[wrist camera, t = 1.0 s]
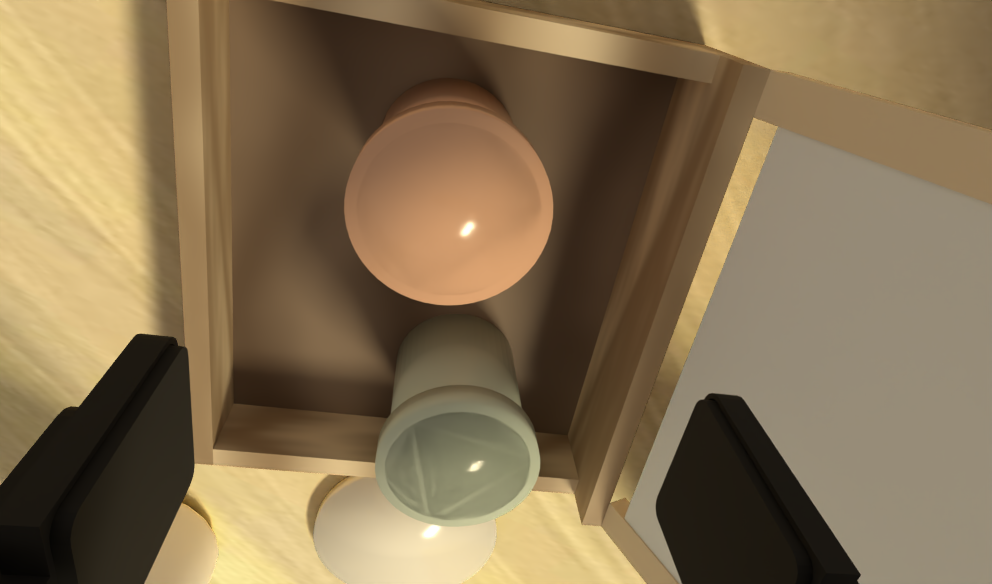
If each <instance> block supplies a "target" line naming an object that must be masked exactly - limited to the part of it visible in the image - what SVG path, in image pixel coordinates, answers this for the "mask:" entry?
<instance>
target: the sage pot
mask: <svg viewBox="0 0 992 584" xmlns="http://www.w3.org/2000/svg"><path fill="white" fill-rule="evenodd" d="M539 471H540V455H539V449H538V443H537V438H536V433H535V430H534V427H533V424H532V422H531V420H530V418H529V417H528V415H527V414H526V413H525V411H524V410H523V409H522V407H521V401H520V395H519V389H518V383H517V377H516V371H515V366H514V360H513V354H512V350H511V346H510V344H509V342H508V340H507V339H506V337H505V336H504V334H503V333H502V332H501V331H500V330H499V329H498V328H497V327H495V326H494V325H493V324H491V323H489V322H488V321H486V320H484V319H481V318H479V317H475V316H472V315H467V314H446V315H440V316H437V317H433V318H431V319H428V320H426V321H424V322H422V323H421V324H419V325H418V326H416V327H415V328H414V329H413V330H411V331H410V332H409V333H408V335H407V336H406V337H405V338H404V340H403V342H402V344H401V345H400V348H399V351H398V355H397V362H396V371H395V380H394V388H393V397H392V406H391V414H390V415H389V417H388V418H387V419H386V421H385V423H384V424H383V426H382V429H381V431H380V434H379V439H378V444H377V452H376V460H375V475H376V480H377V483H378V486H379V488H380V490H381V492H382V493H383V495H384V496H385V497H386V499H387V500H388V501H389V502H390V503H391V504H392V505H393V506H394V507H395V508H397V509H398V510H399V511H400V512H402V513H404V514H406V515H407V516H409V517H411V518H413V519H416V520H418V521H421V522H424V523H428V524H433V525H438V526H447V527H460V526H470V525H476V524H480V523H484V522H488V521H490V520H493V519H496V518H498V517H500V516H502V515H504V514H506V513H508V512H509V511H511V510H512V509H514V508H515V507H516V506H518V505H519V504H520V503H521V502H522V501H523V500H524V499H525V498H526V497H527V496H528V494H529V493H530V492H531V491H532V489H533V487H534V485H535V483H536V481H537V478H538V476H539Z"/></svg>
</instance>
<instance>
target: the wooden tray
mask: <svg viewBox="0 0 992 584" xmlns="http://www.w3.org/2000/svg"><path fill="white" fill-rule="evenodd" d="M166 5H167V23H168V42H169V60H170V78H171V97H172V115H173V134H174V152H175V171H176V189H177V208H178V226H179V245H180V263H181V282H182V300H183V319H184V337H185V347H186V348H187V350H188V356H189V373H190V391H191V408H192V426H193V443H194V461H195V464H208V465H220V466H233V467H245V468H258V469H270V470H282V471H295V472H307V473H320V474H332V475H345V476H357V477H369V478H376V475H375V460H376V452H377V444H378V439H379V434H380V431H381V429H382V426H383V424H384V423H385V421H386V419H387V418H388V417H389V415H390V414H391V406H392V397H393V388H394V380H395V371H396V362H397V355H398V351H399V348H400V345H401V344H402V342H403V340H404V338H405V337H406V336H407V335H408V333H409V332H410V331H411V330H413V329H414V328H415V327H416V326H418V325H419V324H421V323H422V322H424V321H426V320H428V319H431V318H433V317H437V316H440V315H446V314H467V315H472V316H475V317H479V318H481V319H484V320H486V321H488V322H489V323H491V324H493V325H494V326H495V327H497V328H498V329H499V330H500V331H501V332H502V333H503V334H504V336H505V337H506V339H507V340H508V342H509V344H510V346H511V350H512V354H513V360H514V366H515V371H516V377H517V383H518V389H519V395H520V401H521V407H522V409H523V410H524V411H525V413H526V414H527V415H528V417H529V418H530V420H531V422H532V424H533V427H534V430H535V433H536V438H537V443H538V449H539V455H540V471H539V476H538V478H537V481H536V483H535V485H534V487H533V489H532V491H543V492H556V493H568V494H575V498H576V503H577V507H578V511H579V515H580V519H581V523H582V525H593V526H601V525H602V522H603V520H604V517H605V514H606V512H607V509H608V506H609V504H610V501H611V498H612V496H613V493H614V490H615V488H616V485H617V482H618V479H619V477H620V474H621V471H622V469H623V466H624V463H625V461H626V458H627V455H628V453H629V450H630V447H631V445H632V442H633V439H634V437H635V434H636V431H637V428H638V426H639V423H640V420H641V418H642V415H643V412H644V410H645V407H646V404H647V402H648V399H649V396H650V394H651V391H652V388H653V386H654V383H655V380H656V377H657V375H658V372H659V369H660V367H661V364H662V361H663V359H664V356H665V353H666V351H667V348H668V345H669V343H670V340H671V337H672V335H673V332H674V329H675V326H676V324H677V321H678V318H679V316H680V313H681V310H682V308H683V305H684V302H685V300H686V297H687V294H688V292H689V289H690V286H691V284H692V281H693V278H694V275H695V273H696V270H697V267H698V265H699V262H700V259H701V257H702V254H703V251H704V249H705V246H706V243H707V241H708V238H709V235H710V233H711V230H712V227H713V224H714V222H715V219H716V216H717V214H718V211H719V208H720V206H721V203H722V200H723V198H724V195H725V192H726V190H727V187H728V184H729V182H730V179H731V176H732V173H733V171H734V168H735V165H736V163H737V160H738V157H739V155H740V152H741V149H742V147H743V144H744V141H745V139H746V136H747V133H748V131H749V128H750V125H751V122H752V120H753V117H754V114H755V112H756V109H757V106H758V104H759V101H760V98H761V96H762V93H763V90H764V88H765V85H766V82H767V80H768V77H769V74H770V71H771V70H770V69H768V68H765V67H762V66H760V65H757V64H754V63H752V62H749V61H746V60H744V59H741V58H738V57H736V56H733V55H730V54H727V53H725V52H722V51H719V50H717V49H714V48H711V47H709V46H706V45H701V44H696V43H691V42H686V41H681V40H676V39H671V38H666V37H661V36H656V35H651V34H646V33H641V32H636V31H631V30H626V29H621V28H616V27H611V26H606V25H601V24H596V23H591V22H586V21H581V20H576V19H571V18H566V17H561V16H556V15H551V14H546V13H541V12H536V11H531V10H526V9H521V8H516V7H511V6H506V5H501V4H496V3H491V2H485V1H480V0H166ZM439 78H454V79H461V80H465V81H469V82H471V83H474V84H476V85H479V86H480V87H482V88H484V89H486V90H487V91H488V92H490V93H491V94H492V95H494V96H495V97H496V98H497V99H498V100H499V101H500V102H501V104H502V105H503V106H504V108H505V109H506V110H507V112H508V114H509V116H510V117H511V120H512V122H513V124H514V125H515V126H516V127H517V128H518V129H519V130H520V131H521V132H522V133H523V134H524V135H525V136H526V137H527V139H528V140H529V141H530V143H531V144H532V145H533V147H534V149H535V150H536V152H537V154H538V156H539V158H540V160H541V162H542V164H543V166H544V169H545V171H546V174H547V176H548V179H549V182H550V186H551V190H552V197H553V220H552V225H551V231H550V234H549V237H548V240H547V243H546V245H545V247H544V249H543V251H542V253H541V255H540V256H539V258H538V259H537V261H536V263H535V264H534V265H533V266H532V268H531V269H530V270H529V271H528V272H527V273H526V274H525V275H524V276H523V277H522V278H521V279H520V280H519V281H518V282H516V283H515V284H514V285H512V286H511V287H509V288H508V289H506V290H504V291H503V292H501V293H499V294H497V295H495V296H492V297H490V298H488V299H485V300H481V301H478V302H474V303H469V304H463V305H435V304H430V303H424V302H421V301H417V300H414V299H411V298H409V297H406V296H404V295H402V294H399V293H398V292H396V291H394V290H393V289H391V288H389V287H388V286H386V285H385V284H384V283H382V282H381V281H380V280H378V279H377V278H376V277H375V276H374V275H373V274H372V273H371V272H370V271H369V270H368V268H367V267H366V266H365V265H364V263H363V262H362V261H361V259H360V258H359V256H358V254H357V253H356V251H355V249H354V247H353V245H352V243H351V240H350V238H349V234H348V231H347V227H346V222H345V214H344V199H345V192H346V186H347V183H348V179H349V176H350V173H351V171H352V168H353V166H354V163H355V161H356V159H357V157H358V155H359V152H360V150H361V149H362V147H363V146H364V144H365V143H366V141H367V140H368V139H369V137H370V136H371V135H372V134H373V133H374V132H375V131H376V130H377V129H378V128H379V127H380V126H381V124H382V121H383V119H384V117H385V115H386V113H387V111H388V110H389V108H390V107H391V105H392V104H393V103H394V102H395V101H396V99H397V98H398V97H399V96H401V95H402V94H403V93H404V92H405V91H407V90H408V89H410V88H412V87H413V86H415V85H417V84H420V83H422V82H425V81H428V80H432V79H439Z"/></svg>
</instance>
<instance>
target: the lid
mask: <svg viewBox="0 0 992 584" xmlns="http://www.w3.org/2000/svg"><path fill="white" fill-rule="evenodd" d="M754 118H757V119H760V120H762V121H765V122H768V123H771V124H773V125H776V126H778V128H777V131H776V133H775V136H774V139H773V141H772V144H771V146H770V149H769V151H768V154H767V156H766V159H765V161H764V164H763V167H762V169H761V172H760V174H759V177H758V179H757V182H756V184H755V187H754V189H753V192H752V194H751V197H750V200H749V202H748V205H747V207H746V210H745V212H744V215H743V217H742V220H741V222H740V225H739V228H738V230H737V233H736V235H735V238H734V240H733V243H732V245H731V248H730V250H729V253H728V255H727V258H726V261H725V263H724V266H723V268H722V271H721V273H720V276H719V278H718V281H717V283H716V286H715V289H714V291H713V294H712V296H711V299H710V301H709V304H708V306H707V309H706V311H705V314H704V316H703V319H702V322H701V324H700V327H699V329H698V332H697V334H696V337H695V339H694V342H693V344H692V347H691V350H690V352H689V355H688V357H687V360H686V362H685V365H684V367H683V370H682V372H681V375H680V377H679V380H678V383H677V385H676V388H675V390H674V393H673V395H672V398H671V400H670V403H669V405H668V408H667V411H666V413H665V416H664V418H663V421H662V423H661V426H660V428H659V431H658V433H657V436H656V438H655V441H654V444H653V446H652V449H651V451H650V454H649V456H648V459H647V461H646V464H645V466H644V469H643V472H642V474H641V477H640V479H639V482H638V484H637V487H636V489H635V492H634V494H633V497H632V499H631V502H630V503H629V502H628V501H627V499H626V498H623V499H620V500H618V501H615V502H612V503H610V504H609V506H608V509H607V512H606V514H605V517H604V520H603V522H602V525H601V527H602V528H603V529H604V530H605V532H606V533H607V534H608V535H609V537H610V538H611V539H612V540H613V542H614V543H615V544H616V545H617V547H618V548H619V549H620V551H621V552H622V553H623V554H624V556H625V557H626V558H627V559H628V561H629V562H630V563H631V564H632V566H633V567H634V568H635V569H636V571H637V572H638V573H639V574H640V576H641V577H642V578H643V579H644V581H645V582H646V583H647V584H682V583H681V580H680V577H679V575H678V572H677V569H676V567H675V564H674V561H673V559H672V556H671V554H670V551H669V548H668V546H667V543H666V540H665V538H664V535H663V532H662V530H661V527H660V524H659V522H658V519H657V516H656V499H657V496H658V494H659V491H660V489H661V487H662V484H663V482H664V479H665V477H666V474H667V472H668V470H669V467H670V465H671V462H672V460H673V458H674V455H675V453H676V450H677V448H678V445H679V443H680V441H681V438H682V436H683V433H684V431H685V429H686V426H687V424H688V421H689V419H690V416H691V414H692V412H693V409H694V407H695V405H696V403H697V402H698V401H699V400H701V399H703V400H704V399H705V397H706V396H707V395H708V394H710V393H718V394H727V395H737V396H740V397H742V398H743V399H744V401H745V402H746V404H747V405H748V407H749V408H750V410H751V411H752V413H753V414H754V416H755V417H756V418H757V420H758V421H759V423H760V424H761V426H762V427H763V429H764V430H765V432H766V433H767V435H768V436H769V438H770V439H771V441H772V442H773V444H774V445H775V447H776V448H777V450H778V451H779V453H780V454H781V456H782V457H783V459H784V460H785V462H786V463H787V465H788V466H789V468H790V469H791V471H792V472H793V474H794V475H795V477H796V478H797V480H798V481H799V483H800V484H801V486H802V487H803V489H804V490H805V492H806V493H807V495H808V496H809V498H810V499H811V501H812V502H813V504H814V505H815V507H816V508H817V510H818V511H819V513H820V514H821V516H822V517H823V519H824V520H825V522H826V523H827V525H828V526H829V528H830V529H831V531H832V532H833V534H834V535H835V537H836V538H837V540H838V541H839V543H840V544H841V546H842V547H843V549H844V550H845V552H846V553H847V555H848V556H849V558H850V559H851V561H852V562H853V564H854V565H855V567H856V568H857V570H858V571H859V573H860V574H861V576H860V577H859V579H858V580H857V581H858V583H859V584H992V130H990V129H987V128H983V127H980V126H976V125H973V124H969V123H966V122H962V121H959V120H955V119H952V118H948V117H945V116H941V115H937V114H934V113H930V112H927V111H923V110H920V109H916V108H913V107H909V106H906V105H902V104H899V103H895V102H892V101H888V100H885V99H881V98H878V97H874V96H871V95H867V94H864V93H860V92H857V91H853V90H850V89H846V88H843V87H839V86H835V85H832V84H828V83H825V82H821V81H818V80H814V79H811V78H807V77H804V76H800V75H797V74H793V73H790V72H783V71H776V70H771V71H770V74H769V77H768V80H767V82H766V85H765V88H764V90H763V93H762V96H761V98H760V101H759V104H758V106H757V109H756V112H755V114H754Z"/></svg>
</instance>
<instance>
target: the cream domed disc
mask: <svg viewBox="0 0 992 584" xmlns="http://www.w3.org/2000/svg"><path fill="white" fill-rule="evenodd" d="M496 537H497V532H496V519H493V520H490V521H488V522H484V523H480V524H476V525H470V526H460V527H447V526H438V525H433V524H428V523H424V522H421V521H418V520H416V519H413V518H411V517H409V516H407V515H406V514H404V513H402V512H400V511H399V510H398V509H397V508H395V507H394V506H393V505H392V504H391V503H390V502H389V501H388V500H387V499H386V497H385V496H384V495H383V493H382V492H381V490H380V488H379V486H378V483H377V480H376V478H369V477H357V476H348V477H347V478H345V479H344V480H342V481H341V482H339V483H338V484H337V485H336V486H335V487H334V488H332V489H331V490H330V492H329V493H328V494H327V495H326V496H325V498H324V500H323V501H322V503H321V505H320V507H319V510H318V513H317V516H316V521H315V526H314V532H313V539H314V545H315V549H316V552H317V554H318V557H319V558H320V560H321V561H322V563H323V564H324V566H325V567H326V568H327V569H328V570H329V571H330V572H331V573H332V574H333V575H334V576H336V577H337V578H338V579H340V580H341V581H343V582H344V583H346V584H461V583H463V582H464V581H466V580H468V579H469V578H471V577H472V576H473V575H475V574H476V573H477V572H478V571H479V570H480V569H481V568H482V567H483V566H484V565H485V563H486V562H487V561H488V559H489V558H490V556H491V554H492V552H493V549H494V547H495V543H496Z"/></svg>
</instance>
